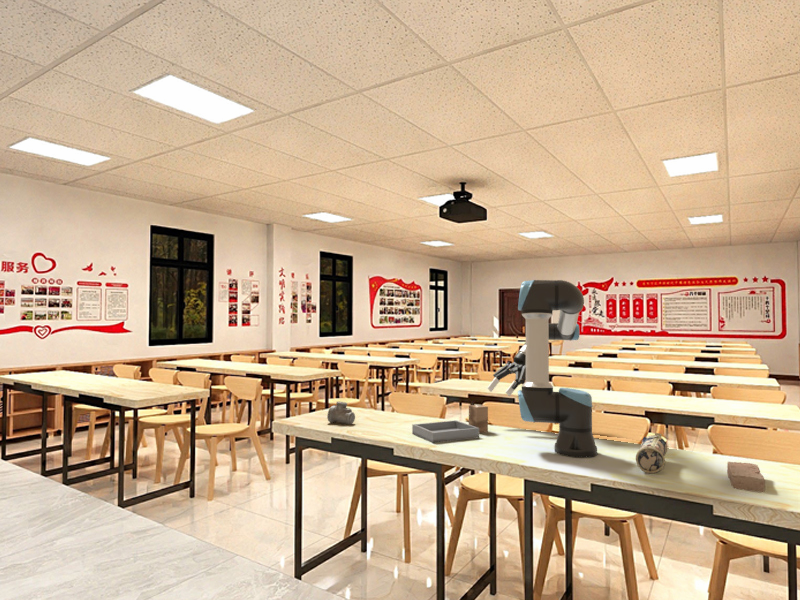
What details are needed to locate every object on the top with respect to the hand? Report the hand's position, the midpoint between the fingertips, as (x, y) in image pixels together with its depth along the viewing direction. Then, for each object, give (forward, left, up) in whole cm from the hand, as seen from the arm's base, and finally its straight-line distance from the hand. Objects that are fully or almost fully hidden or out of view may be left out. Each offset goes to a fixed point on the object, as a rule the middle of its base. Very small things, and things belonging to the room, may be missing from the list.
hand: (498, 391), depth 239 cm
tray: (-2, +29, -16) cm, 33 cm away
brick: (-95, -23, -17) cm, 99 cm away
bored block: (0, +11, -17) cm, 20 cm away
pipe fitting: (+40, +60, -17) cm, 74 cm away
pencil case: (-71, -11, -17) cm, 74 cm away
